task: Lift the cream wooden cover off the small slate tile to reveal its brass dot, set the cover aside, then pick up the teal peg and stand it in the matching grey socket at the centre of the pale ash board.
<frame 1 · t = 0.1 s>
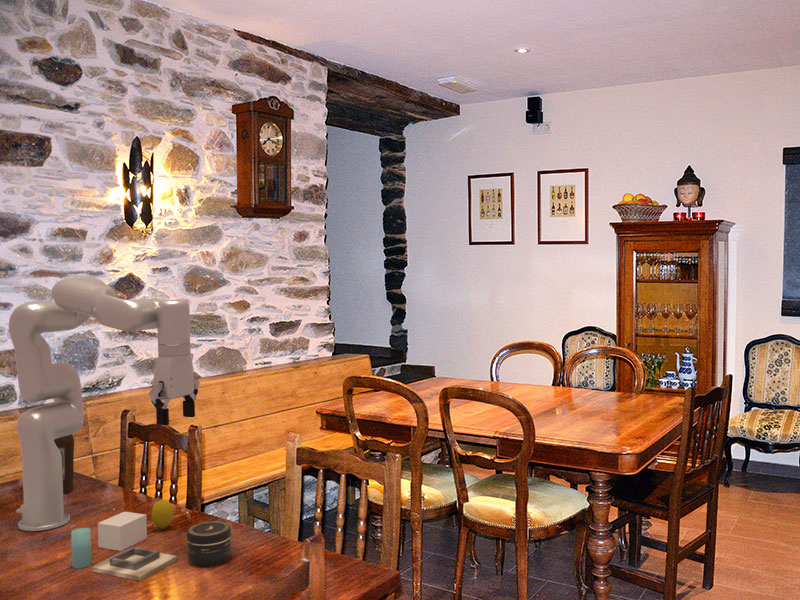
hand: (176, 420, 175), 31 cm above the table, tool pointing down, fingers open, 9 cm apart
lemon: (162, 529, 188), on the table
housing: (123, 542, 179), on the table
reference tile: (123, 542, 179), on the table
layout board: (135, 565, 165), on the table
jar: (209, 560, 168), on the table
peg: (81, 564, 166), on the table
olive oil: (56, 492, 221), on the table
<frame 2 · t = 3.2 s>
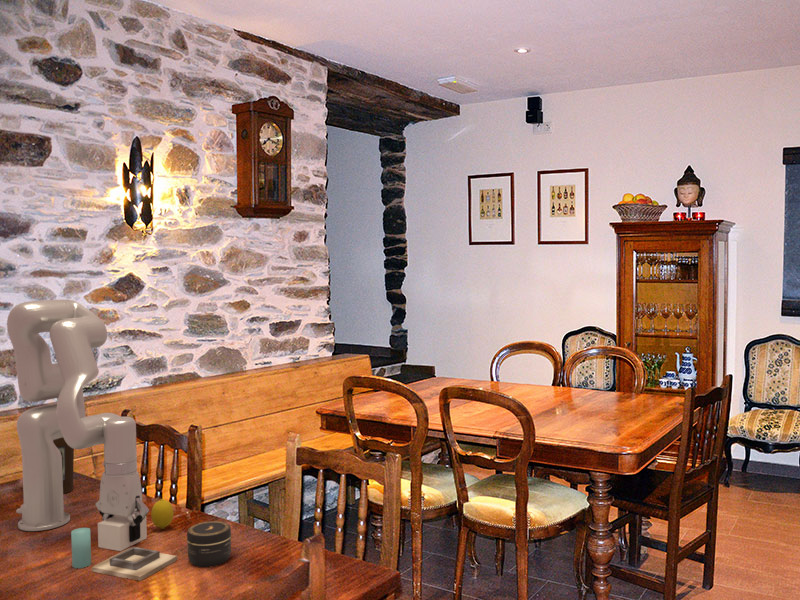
hand: (122, 537, 179), 1 cm above the table, tool pointing down, fingers closed on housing, 7 cm apart
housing: (122, 542, 179), on the table, touching gripper
everything else where it was.
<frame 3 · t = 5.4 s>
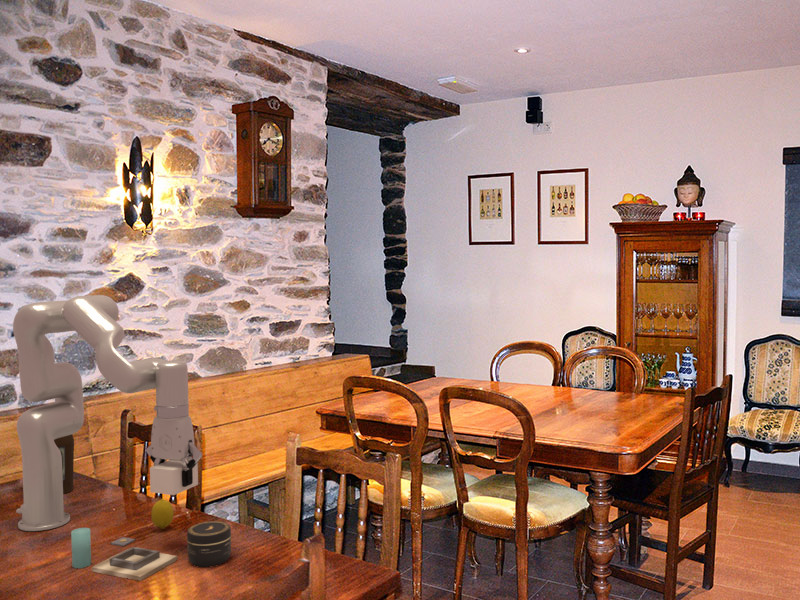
hand: (174, 483, 176), 16 cm above the table, tool pointing down, fingers closed on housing, 7 cm apart
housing: (174, 488, 176), point 14 cm above the table, touching gripper
everything else where it was.
when the fingers open (3 cm above the table, at t = 7.8 s): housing drops 1 cm, on the table.
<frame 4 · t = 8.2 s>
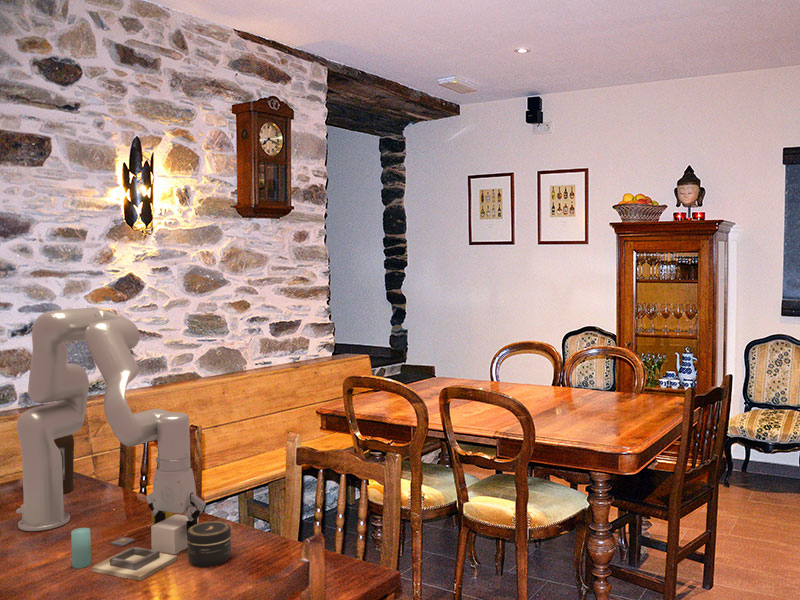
hand: (176, 532, 176), 3 cm above the table, tool pointing down, fingers open, 9 cm apart
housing: (175, 545, 177), on the table
everything else where it was.
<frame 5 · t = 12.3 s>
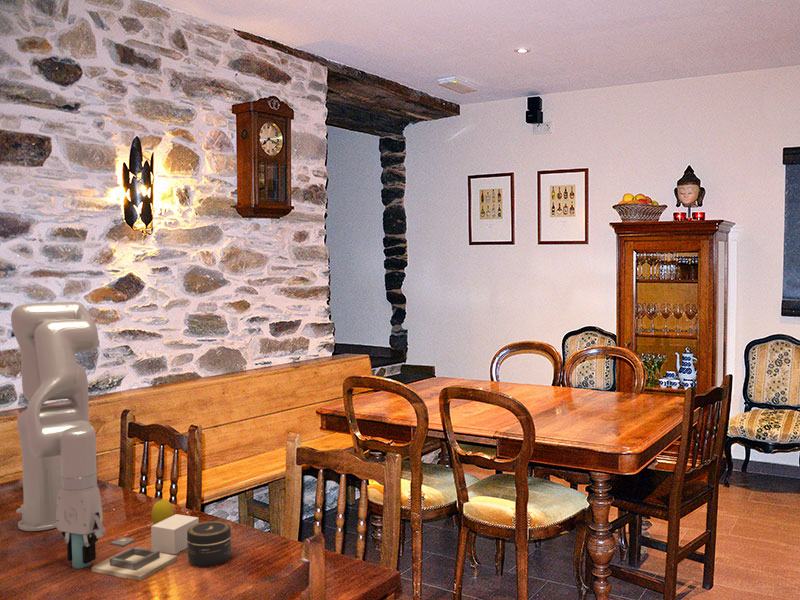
hand: (81, 559, 166), 1 cm above the table, tool pointing down, fingers closed on peg, 4 cm apart
peg: (81, 564, 166), on the table, touching gripper
everything else where it was.
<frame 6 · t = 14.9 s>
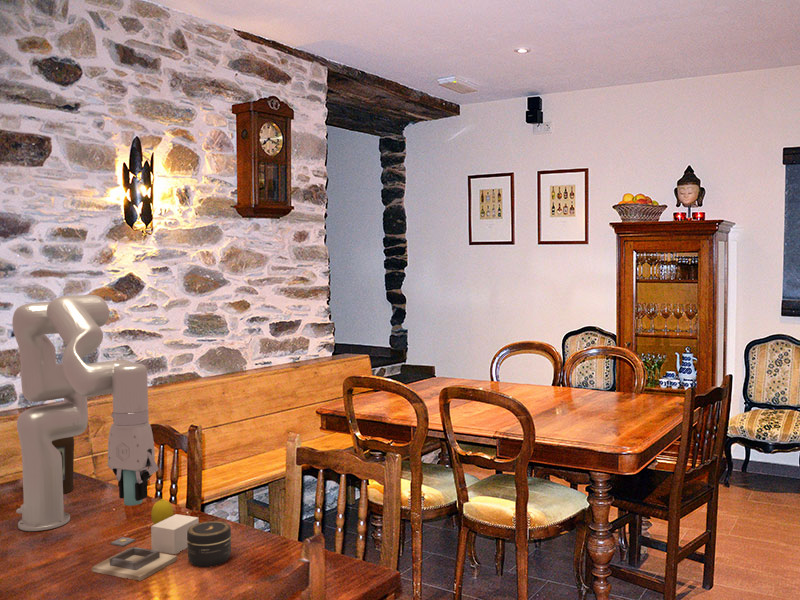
hand: (133, 497, 164), 16 cm above the table, tool pointing down, fingers closed on peg, 4 cm apart
peg: (133, 502, 164), point 15 cm above the table, touching gripper
everything else where it was.
when the fingers open (3 cm above the table, at t = 17.4 s): peg stays where it is, resting on layout board.
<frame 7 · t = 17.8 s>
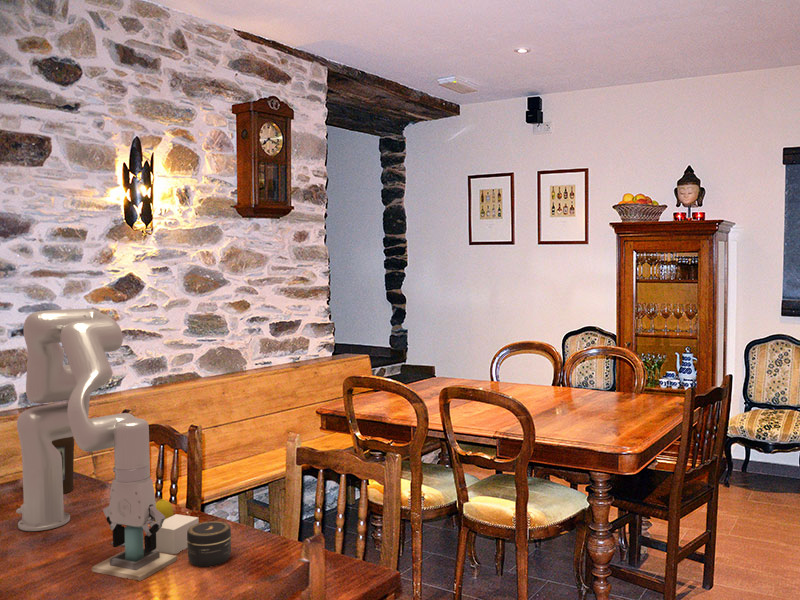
hand: (134, 547, 165), 4 cm above the table, tool pointing down, fingers open, 8 cm apart
peg: (134, 561, 165), point 1 cm above the table, touching layout board
everything else where it was.
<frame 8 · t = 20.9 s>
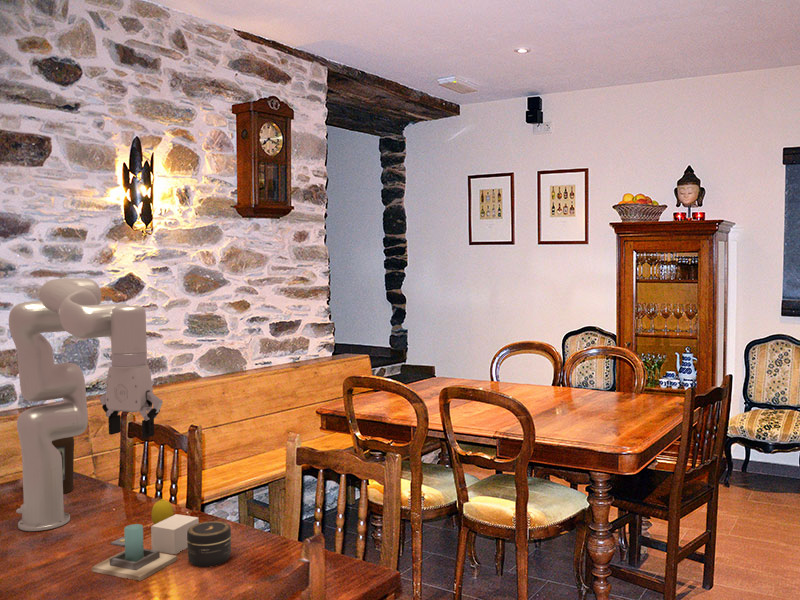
hand: (131, 435, 164), 30 cm above the table, tool pointing down, fingers open, 9 cm apart
nothing on the table moved.
at the end: peg 0.1 cm off-centre on the layout board, point 1.0 cm above the layout board's base; peg tilted 0°; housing moved 14.2 cm from its start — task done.
